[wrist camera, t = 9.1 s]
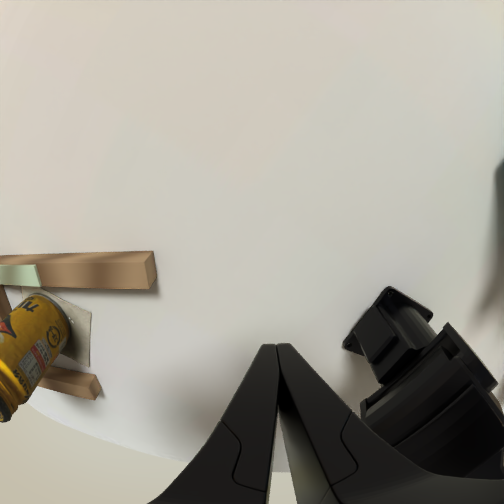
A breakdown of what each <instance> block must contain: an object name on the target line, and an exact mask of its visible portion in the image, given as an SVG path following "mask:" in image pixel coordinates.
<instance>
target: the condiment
mask: <svg viewBox="0 0 504 504" xmlns="http://www.w3.org/2000/svg"><path fill="white" fill-rule="evenodd" d="M21 288H22V298H23V302H21V303H20V304H19V305H18V306H17V307H16V308H15V309H13V311H12V312H10V313H9V314H8V315H7V316H6V317H5V319H3V320H2V321H1V322H0V422H2V423H3V422H7V421H10V420H11V417H12V414H13V413H14V412H16V410H17V409H18V405H21V404H24V403H26V402H27V401H28V399H29V398H30V396H31V395H32V393H33V391H34V390H35V388H36V387H37V385H38V384H39V382H40V381H41V379H42V378H43V376H44V375H45V373H46V372H47V370H48V369H49V367H50V366H51V365H52V363H53V362H54V360H55V359H56V358H57V356H58V355H59V353H61V354H63V355H65V356H67V357H69V358H72V359H73V360H75V361H77V362H78V363H80V364H82V365H85V366H87V367H89V348H90V318H91V313H90V312H88V311H86V310H83V309H81V308H79V307H77V306H74V305H72V304H70V303H68V302H66V301H64V300H62V299H60V298H58V297H57V296H55V295H53V294H51V293H50V292H48V291H46V290H43V289H42V288H40V287H36V286H21ZM69 317H70V319H71V320H72V321H73V322H74V324H73V323H72V321H71V320H70V319H69Z"/></svg>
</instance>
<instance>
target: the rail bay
mask: <svg viewBox="0 0 504 504" xmlns="http://www.w3.org/2000/svg"><path fill="white" fill-rule="evenodd" d="M156 277H157V273H156V267H155V260H154V254H153V251H130V252H96V253H63V254H32V255H2V256H0V322H1V321H2V320H3V319H5V317H6V316H7V315H8V314H9V313H10V312H12V309H11V307H10V304H9V301H8V299H7V296H6V293H5V290H4V287H3V284H4V285H19V286H36V287H40V286H50V287H75V288H109V289H150V287H151V285H152V284H153V282H154V280H155V279H156ZM37 386H40V387H43V388H46V389H50V390H53V391H57V392H61V393H65V394H69V395H73V396H77V397H81V398H86V399H91V400H96V398H97V396H98V394H99V392H100V390H101V386H100V384H99V382H98V379H97V377H96V375H94V374H88V373H82V372H77V371H72V370H67V369H62V368H57V367H53V366H50V367H49V369H48V370H47V372H46V373H45V375H44V376H43V378H42V379H41V381H40V382H39V384H38V385H37Z"/></svg>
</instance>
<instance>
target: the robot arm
mask: <svg viewBox="0 0 504 504" xmlns="http://www.w3.org/2000/svg"><path fill="white" fill-rule="evenodd" d="M390 291H391V293H390V294H388V293H389V292H390ZM432 317H433V313H432V312H431V310H429V309H428V308H426V307H424V306H423V305H421V304H420V303H418V302H416V301H415V300H413V299H412V298H410V297H408V296H407V295H405V294H403V293H402V292H400V291H399V290H397V289H395V288H394V287H392V286H388V287H386V288H385V289H384V291H383V292H382V293H381V295H380V296H379V297H378V299H377V300H376V301H375V303H374V304H373V305H372V307H371V308H370V309H369V310H368V312H367V313H366V314H365V316H364V317H363V318H362V319H361V321H360V322H359V323H358V324H357V326H356V327H355V328H354V329H353V331H352V332H351V333H350V334H349V335H348V337H347V338H346V339H345V340H344V342H343V345H344V347H345V349H347V350H349V351H352V352H354V353H357V354H360V355H362V356H365V357H366V359H367V361H368V363H369V364H370V366H371V368H372V370H373V372H374V374H375V377H376V379H377V381H378V383H379V384H380V385H381V388H380V389H379V390H377V391H376V392H375V393H374V394H373V395H371V396H370V397H369V398H366V399H364V400H363V401H362V402H361V403H360V410H361V419H360V418H359V417H358V416H357V415H356V414H355V413H354V412H352V410H351V409H350V408H349V407H348V406H347V405H346V404H345V403H344V401H343V400H342V399H341V398H340V397H339V396H338V395H337V394H336V393H335V392H334V391H333V390H332V389H331V388H330V387H329V385H328V384H327V383H326V382H325V381H324V380H323V379H322V378H321V377H320V376H319V375H318V374H317V372H316V371H315V370H314V369H313V368H312V367H311V366H310V365H309V364H308V363H307V362H306V360H305V359H304V358H303V357H302V356H301V355H300V354H299V353H298V352H297V351H296V349H295V348H294V347H293V346H292V345H291V344H290V343H279V344H277V345H275V344H263V345H261V347H260V349H259V351H258V353H257V354H256V356H255V358H254V360H253V362H252V364H251V366H250V367H249V369H248V371H247V373H246V375H245V377H244V378H243V380H242V382H241V384H240V386H239V387H238V389H237V391H236V393H235V395H234V396H233V398H232V400H231V402H230V403H229V405H228V407H227V409H226V410H225V412H224V414H223V416H222V417H221V419H220V421H219V422H218V424H217V426H216V427H215V429H214V431H213V432H212V434H211V435H210V437H209V438H208V440H207V441H206V443H205V444H204V446H203V447H202V448H201V450H200V451H199V452H198V453H197V455H196V456H195V457H194V458H193V460H192V461H191V462H190V463H189V464H188V465H187V466H186V468H185V469H184V470H183V471H182V472H181V473H180V474H179V475H178V477H177V478H176V479H175V480H174V481H173V482H172V483H171V484H170V485H169V487H168V488H167V489H166V490H165V491H164V492H163V493H162V494H160V495H159V496H158V497H157V498H155V499H154V500H152V501H151V502H149V503H147V504H268V502H269V494H270V486H271V476H272V467H273V458H274V448H275V438H276V427H277V414H278V413H279V419H280V424H281V428H282V433H283V438H284V443H285V448H286V452H287V457H288V462H289V467H290V471H291V476H292V481H293V486H294V490H295V495H296V500H297V504H504V414H503V411H502V408H501V405H500V403H499V401H498V400H497V399H496V397H495V396H494V394H493V393H492V392H491V391H492V390H493V389H494V388H495V387H496V386H497V385H498V382H497V381H496V379H495V378H494V377H493V375H492V374H491V372H490V371H489V370H488V368H487V367H486V366H485V364H484V363H483V362H482V361H481V359H480V358H479V357H478V356H477V354H476V353H475V352H474V351H473V350H472V348H471V347H470V346H469V345H468V344H467V343H466V341H465V340H464V339H463V338H462V337H461V336H460V335H459V334H458V332H457V331H456V330H455V329H454V328H453V327H452V326H451V325H450V324H449V323H448V322H447V323H446V325H445V326H444V327H443V330H442V331H441V332H440V333H439V334H438V335H437V334H436V333H435V332H434V330H433V329H432V328H431V327H430V325H429V324H428V323H429V321H430V320H431V319H432ZM349 343H350V344H349Z"/></svg>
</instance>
